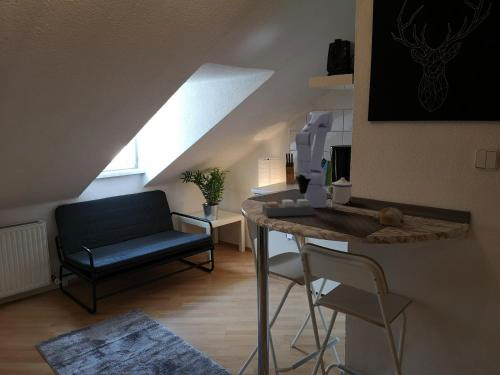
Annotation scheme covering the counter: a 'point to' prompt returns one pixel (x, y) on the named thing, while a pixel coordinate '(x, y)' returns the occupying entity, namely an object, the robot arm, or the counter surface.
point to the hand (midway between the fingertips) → (302, 193)
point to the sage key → (302, 202)
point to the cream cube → (287, 203)
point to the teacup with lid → (341, 191)
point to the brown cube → (272, 204)
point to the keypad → (287, 210)
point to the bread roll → (390, 216)
